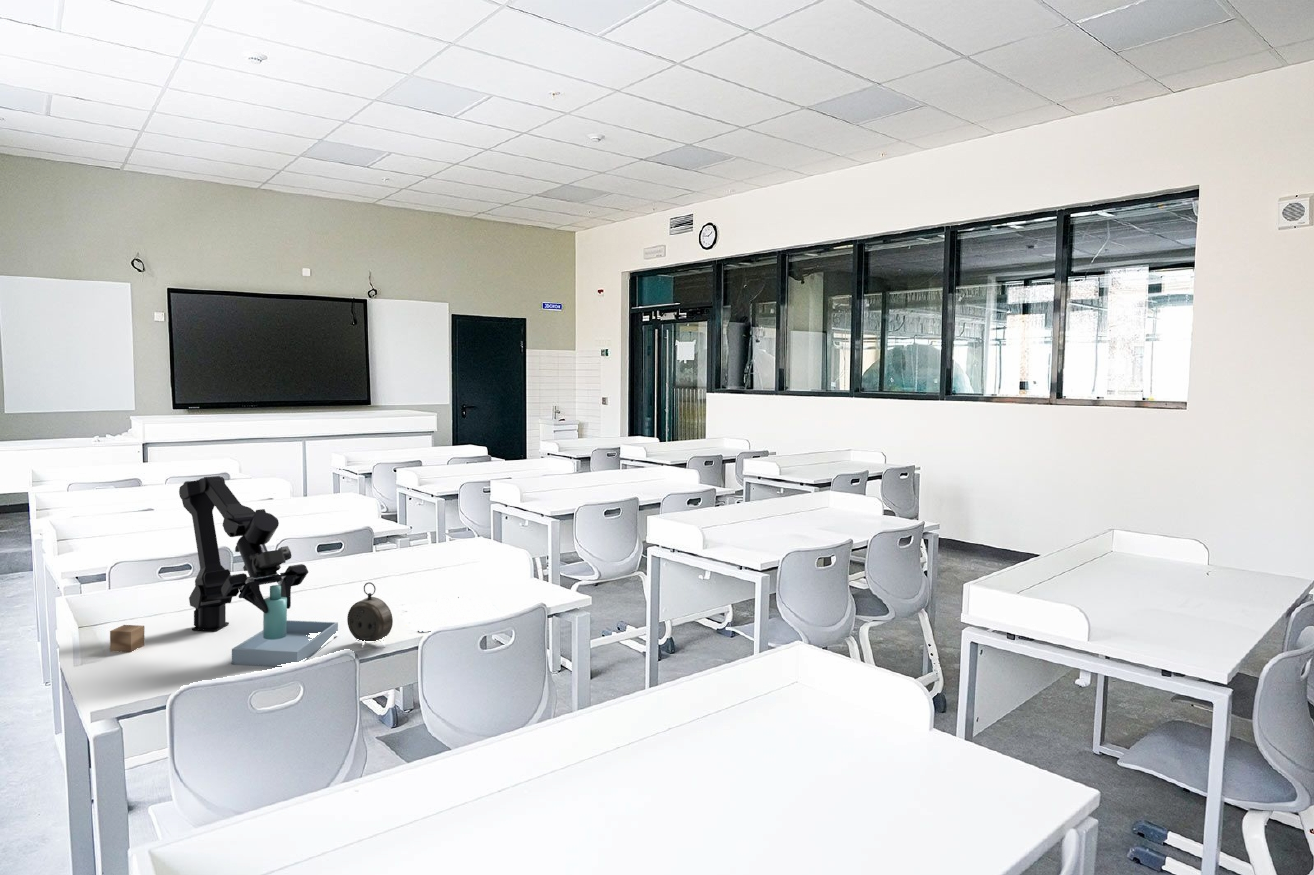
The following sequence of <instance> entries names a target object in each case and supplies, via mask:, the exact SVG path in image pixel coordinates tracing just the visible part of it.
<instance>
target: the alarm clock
mask: <svg viewBox="0 0 1314 875" xmlns="http://www.w3.org/2000/svg"><path fill="white" fill-rule="evenodd" d="M367 585H372V587H373V592H369V593H368V592H366V591H367V590H366V586H367ZM376 590H377V588H376V585H375V584H374V583H373V582H370V581H368V582H366V583H365V584H364V586H363V592H364V594H366V595H367V597H365V598H364V599H362V600H359V601H357V602H355V603H353V605H351V607H350V608H349V610H348V612H347V619H346V620H347V627H348V629H349V632H350V634H351V635H352V637H354V638H355V639H356V640H357V639H359V640H362V641H364V640H365V641H376V640H378V641H380V640H379V639H382V638H383V637H384V638H386V637H387V636H388V635H389V634H390V632H391V630H392V627H393V623H394V622H393V614H392V612H391V609H390V607H389V606H388V605H387V604H386V602H385V601H383V600H382V599H381V598H379V597H376V596H373V595H374V594H375V593H376ZM385 636H386V637H385ZM384 638H383V639H384ZM359 640H358V641H359ZM376 642H377V641H376Z"/></svg>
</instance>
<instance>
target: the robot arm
mask: <svg viewBox="0 0 1314 875" xmlns="http://www.w3.org/2000/svg"><path fill="white" fill-rule="evenodd" d="M178 493H179V498H180V499H181V501H182V506H183V508H184V509H185V510H186V511H187V512H188V513H189V514H190V515H191V517H192V518H191V519H192V524H193V531H194V537H195V543H196V550H197V556H198V563H199V568H200V570H199V571H198V573H197V575H196V577H195V580H194V588H193V590H192V592H191V594H190V596H189V597H188V601H189V606H190V607H192V608H194V609H195V610H193V627H192V628H191V631H203V632H204V631H205V632H207V631H208V632H217V631H220V630H221V629H223V628H224V627H227V626H228V625H229V623H230V622H229V621H226V620H227V619H226V615H227V614H226V613H227V612H226V606H227V604H232V599H233V597H234V598H235V597H237V596H238V598H239V599H244V600H246V602H249V603H251V604H252V605H253V606H254V607H256V608H257V609H258V610H260V611H261V612H262V613H263V612H264V613H267V612H268V608H267V605H266V602H265V600H264V599H265V598H264V596H263V594H262V591H261V588H260V586H261V585H267V584H273V583H277V585H280V586H281V596H284V597H287V610H290V609H291V600H292V596H291V595H292V594H291V591H292V587H295V586H300V585H301V584H302V583H303V581H304V579H305V578H306V577H307V575H308V573H309V570H308V567H307V566H306V565H305V564H303V563H300V564H295V565H294V564H293V565H288V567H287V568H286V570H285V572H279V573H278V572H277V571H280V569H281V568H282V566H281V565H282V564H285V563H286V562H287V561H288V560H290V559H292V552H291V549H290V547H289V546H288V545H287V546H281V547H279V548H278V549H275V550H268V549H267V546H266V544H267V543H269V542H270V540H271V539H272V537H273V535H274V534H275V532H276V530H277V529H278V527H279V524H280V522H279V520H278V518H277V517H276V516H274V515H273V514H272V513H270V512H269V513H268V512H266V510H265V509H264V508H261V509H260V508H259V509H256V510H254V509H252V508H251V507H248V506H245V505H243V504H241V502H240V501H239V499H237V497H236V496H235V494H234V493H233V491H231V489H230V488H229V486H227V484H226V481H225V478H224V477H223V476H219V475H218V476H217V475H215V476H204V477H202V478H199V479H196V480H186V481H184V482H183V484H182V485H180V487H179V489H178ZM214 508H216V509H217V510H218V512H219V513H220V515H221V516H222V518H223V522H222V527H223V530H224V533H225V534H226V535H227V536H228V537H230V538H235V537H240V538H238V540H237V542H236V545H235V548H234V551H235V553H239V554H240V556H241V558H242V562H243V563H244V565H243V567H242V569H243V571H244V572H247V573H248V576H247V574H246V573H243V572H242V573H238V574H231V571H230V570H229V569H226V568H225V567H223V565H222V564H221V558H220V556H221V555H220V551H219V544H218V540H217V539H218V538H217V531H216V527H215V520H214V519H215V518H214V514H213V511H214Z"/></svg>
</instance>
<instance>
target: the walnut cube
mask: <svg viewBox="0 0 1314 875" xmlns="http://www.w3.org/2000/svg"><path fill="white" fill-rule="evenodd" d="M144 646H145V625H138V624H137V625H136V624H134V625H133V624H122V625H121V626H118V627H116V628H114V629H112V630H109V652H113V651H119V652H120V651H122V652H120V653H132V651H133V652H135V651H136V649H137V648H139V649H140V648H142V647H144ZM134 650H135V651H134ZM137 650H138V649H137ZM119 652H118V653H119Z"/></svg>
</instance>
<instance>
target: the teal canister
mask: <svg viewBox="0 0 1314 875" xmlns="http://www.w3.org/2000/svg"><path fill="white" fill-rule="evenodd" d="M264 600H265V602H266V605H267V608H268V612H267V613H264V612H263V611H262V613H263V618H262V620H263V622H262V623H263V624H262V626H263V627H262V628H263V629H262V630H263V638H264V639H269V640H275V639H281V638H284V637H286V635H287V620H288V618H287V617H288V614H287V613H288V612H287V611H288V609H287V597H284V596H281V586H280V585H278V584H275V585H270V586H269V596H267V597H265V598H264Z"/></svg>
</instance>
